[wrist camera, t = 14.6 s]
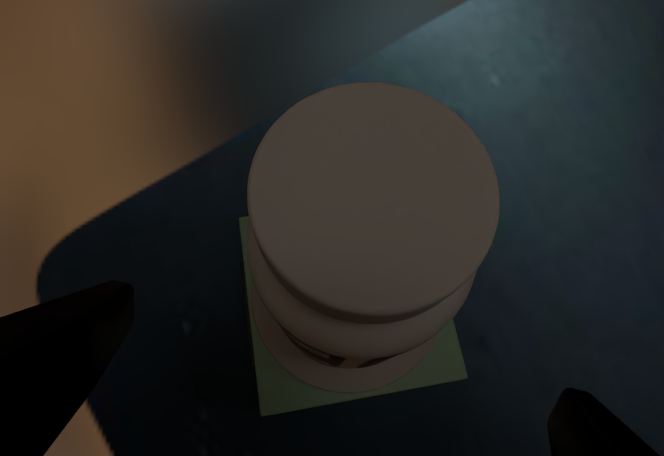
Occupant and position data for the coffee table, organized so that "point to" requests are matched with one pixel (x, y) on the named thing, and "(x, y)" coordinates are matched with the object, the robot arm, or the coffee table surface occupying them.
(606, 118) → the coffee table surface
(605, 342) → the coffee table surface
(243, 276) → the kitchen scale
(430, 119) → the pill bottle
